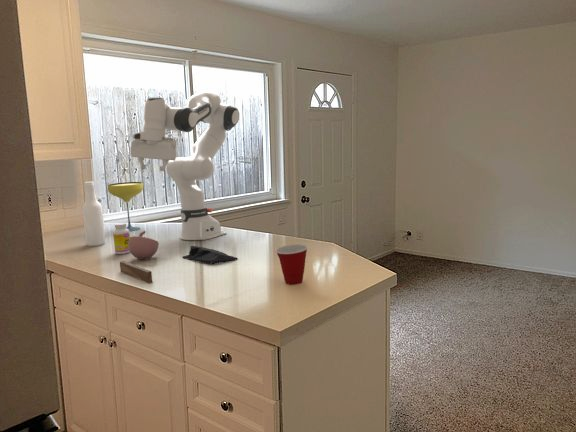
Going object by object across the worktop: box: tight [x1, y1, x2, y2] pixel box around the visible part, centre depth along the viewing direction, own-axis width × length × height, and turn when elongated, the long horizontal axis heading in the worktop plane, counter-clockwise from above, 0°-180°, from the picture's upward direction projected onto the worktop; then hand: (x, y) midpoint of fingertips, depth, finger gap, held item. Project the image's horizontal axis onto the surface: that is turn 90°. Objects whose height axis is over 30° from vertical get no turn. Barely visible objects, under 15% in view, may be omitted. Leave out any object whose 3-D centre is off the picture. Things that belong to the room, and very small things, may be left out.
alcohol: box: [81, 180, 107, 247], centre depth 232 cm, size 9×9×30 cm
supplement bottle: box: [112, 222, 131, 255], centre depth 215 cm, size 7×7×13 cm
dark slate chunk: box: [182, 245, 239, 265], centre depth 199 cm, size 15×22×5 cm
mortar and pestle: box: [128, 230, 160, 260], centre depth 203 cm, size 12×12×11 cm
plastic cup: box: [275, 243, 309, 286], centre depth 162 cm, size 11×11×12 cm
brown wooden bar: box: [119, 260, 153, 284], centre depth 177 cm, size 2×22×4 cm, turn 43°
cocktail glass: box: [107, 181, 144, 232], centre depth 266 cm, size 18×18×25 cm
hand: (152, 169), depth 206 cm, fingers open, 8 cm apart
